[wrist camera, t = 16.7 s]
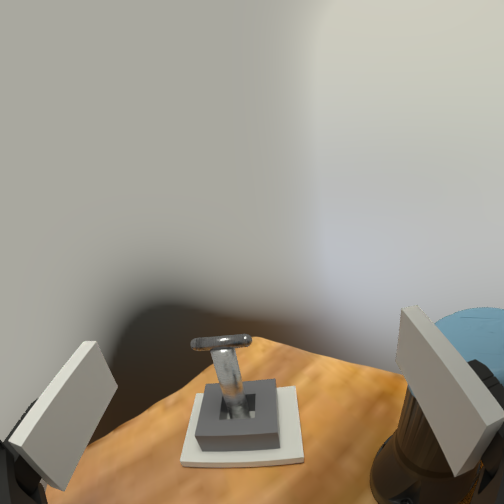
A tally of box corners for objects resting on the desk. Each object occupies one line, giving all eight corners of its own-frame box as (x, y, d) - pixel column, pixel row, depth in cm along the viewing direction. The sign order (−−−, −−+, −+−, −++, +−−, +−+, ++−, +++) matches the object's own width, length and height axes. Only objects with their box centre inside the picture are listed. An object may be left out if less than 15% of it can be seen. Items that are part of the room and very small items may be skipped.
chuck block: (295, 391, 47) (293, 368, 46) (304, 462, 33) (302, 441, 31) (198, 399, 49) (190, 376, 47) (183, 466, 34) (170, 445, 33)
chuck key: (267, 414, 42) (251, 327, 37) (267, 428, 39) (250, 341, 34) (218, 417, 42) (191, 333, 37) (216, 431, 39) (186, 346, 34)
